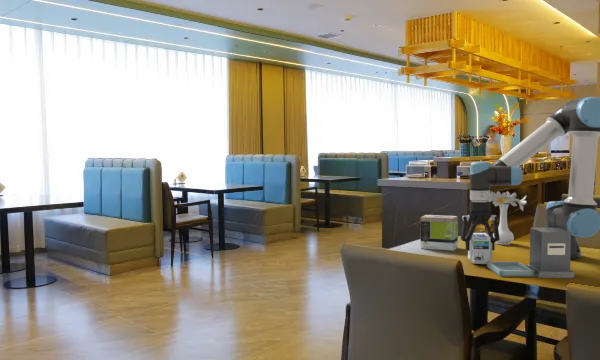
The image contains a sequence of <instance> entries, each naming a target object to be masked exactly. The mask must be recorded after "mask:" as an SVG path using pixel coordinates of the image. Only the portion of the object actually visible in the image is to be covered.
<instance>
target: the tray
mask: <svg viewBox="0 0 600 360" xmlns="http://www.w3.org/2000/svg"><path fill="white" fill-rule="evenodd" d="M486 268H488V269H489V270H490V271H492V272H493V273H495V274H496V275H497V276H498V277H500V278H501V277H511V278H512V277H514V278H515V277H520V278H521V277H523V278H524V277H527V278H530V277H532V278H533V277H534V278H535V277H536V276H535V271H534V270H532V269H530V268H528V267H527V266H526V264H523V263H522V262H519V261H491V262H487V264H486Z"/></svg>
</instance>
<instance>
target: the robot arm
mask: <svg viewBox="0 0 600 360" xmlns="http://www.w3.org/2000/svg"><path fill="white" fill-rule="evenodd" d="M567 133H570V135H571V136H572V143H571V144H572V147H571V158H570V159H571V160H570V167H569V168H570V171H569V179H568V180H569V181H568V182H569V184H568V195H567V197H566V199H563V200H561V201H560V200H559V201H558V200H555V201H548V202H547V203H546V207H545V228H561V229H563V230H566V231H569V232H571V255H570V260H577V259H581V257H582V251H581V248H580V244H579V241H578V238H582V239H584V238H585V239H587V238H591V237H594V235H596V234H597V233H598V232H599V231H600V214H599V213H598V212H597V209H598V202H596V200H594V192H595V191H594V190H595V189H594V188H595V179H596V167H597V158H598V157H597V156H598V155H597V154H598V145H599V138H600V97H598V96H586V97H583V98H578V99H571V100H570V101H567V102H566V103H565V104H563V105H561V107H559V108H557V110H555V111H554V112H553V113H552V114H551V115H549V116H548V117H547V118H546V120H545V123H543V124H541V126H539V127H538V128H537V129H535V130H534V131H533V132H532V133H530V134H529V135H528V136H527V137H525V138H524V139H523V140H521V141H520V142H519V143H518V144H516V145H515V146H513V147H512V148H511V149H510V150H509V151H508V152H506V153H505V154H503V155H502V156H501V157H500V158H499V159H497V160H496V161H494V162H493V163H492V164H491V162H489V161H473V162H471V163H470V167H469V200H470V201H469V214H468V215H467V214H466V215H462V216H461V219H462V225H461V231H460V240H461V241H463V242H465V250H466V251H467V259H469V260H471V259H472V243H471V242H470V240H471V237H472V235H473V233H475V229H476V227H477V226H479V225H483V226H484V228H485V230H486V232H485V233H487V234H488V235H489V236H490V237H491V260H492V259H493V251H495V249H496V248H495V244H496V241H499V240H500V238H499V230H498V227H499V223H498V221H499V220H498V219H499V216H498V215H496V214H491V202H489V200H490V193H491V186H512V187H513V186H520V185H521V184H522V182H523V177H524V176H523V170H522V168H521V167H520V166H521V165H523V164H525V163H526V162H527V161H529V160H530V159H531V158H532V157H533V156H536V154H538V153H539V152H540V151H542V150H543V149H544V148H545V147H547V146H548V145H549V144H550V143H552V142H553V141H554V140H555V139H557V138H559V137H563V136H565V135H566V134H567ZM490 219H491V221H492V228H491V227H490V224H489V221H490ZM469 220H470V221H471V223H470V227H469V229H468V232H467V228H468V222H469ZM492 229H493V232H492ZM493 234H494V237H493Z"/></svg>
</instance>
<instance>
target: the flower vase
mask: <svg viewBox="0 0 600 360" xmlns="http://www.w3.org/2000/svg"><path fill="white" fill-rule="evenodd" d="M516 197H517V193H516V192H513V193H511V192H509V191H506V192H502V193H501V191H497V192H495V191H494V192H493V191H490V200H489V202H490V203H491V202H492V205H494V207H499V223H498V230H499V238H500V240H499V241H496V242H495V244H497V245H501V246H509V245H510V244H511V242H513V240H514V239H515V238H514V233H513V232H512V231H511V230H510V229H509V226H508V210H509V209H508V208H509V206H510V205H511V206H513V207H518V205H519V209H520V210H521V211H522V212H524V206H525V205H526V204H527V200H526V198H527V195H525V196H523V197H522V199H519V198H516ZM492 234H493V237H494V233H492Z"/></svg>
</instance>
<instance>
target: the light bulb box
mask: <svg viewBox="0 0 600 360" xmlns="http://www.w3.org/2000/svg"><path fill="white" fill-rule="evenodd" d="M470 242H471V243H472V259H470V261H471V262H472V264H473V265H474V264H475V265H476V264H477V265H487V262H492V261H491V260H492V259H491V237H490V236H489V235H488V234H487V232H473V235H472V237H471V240H470Z"/></svg>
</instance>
